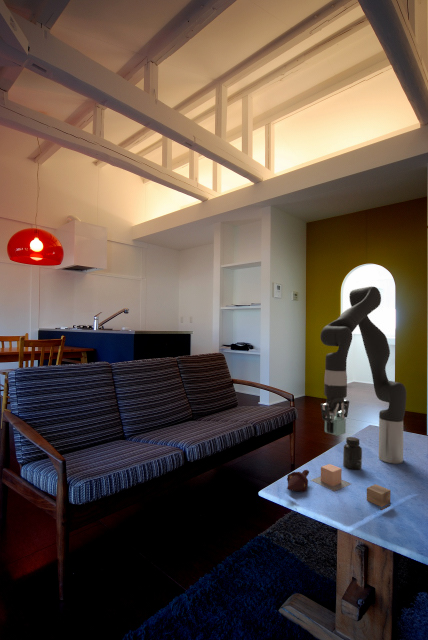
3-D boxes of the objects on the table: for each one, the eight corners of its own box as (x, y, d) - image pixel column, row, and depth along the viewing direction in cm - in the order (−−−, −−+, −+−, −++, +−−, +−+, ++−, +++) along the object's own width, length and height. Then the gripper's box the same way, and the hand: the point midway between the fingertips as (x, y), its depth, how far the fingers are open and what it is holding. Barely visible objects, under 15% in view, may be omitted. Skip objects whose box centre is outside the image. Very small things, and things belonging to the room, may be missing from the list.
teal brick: (333, 429, 128) (333, 415, 128) (345, 433, 124) (345, 418, 124) (324, 431, 125) (324, 417, 125) (336, 435, 121) (337, 421, 121)
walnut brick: (375, 499, 115) (375, 484, 115) (390, 506, 111) (390, 490, 111) (366, 503, 112) (366, 487, 112) (381, 510, 108) (381, 494, 108)
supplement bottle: (363, 473, 135) (363, 442, 135) (344, 471, 137) (345, 440, 137) (359, 466, 142) (360, 436, 142) (341, 465, 143) (342, 435, 144)
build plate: (327, 476, 132) (327, 473, 132) (351, 486, 124) (351, 483, 124) (310, 482, 126) (310, 480, 126) (334, 494, 118) (334, 491, 118)
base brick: (329, 477, 129) (329, 463, 129) (341, 482, 125) (341, 468, 125) (320, 481, 126) (320, 466, 126) (332, 486, 122) (332, 471, 122)
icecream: (301, 484, 111) (318, 473, 123) (280, 472, 115) (299, 462, 127) (295, 505, 111) (313, 492, 123) (274, 492, 116) (294, 480, 127)
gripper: (338, 379, 132) (337, 425, 132) (313, 383, 123) (313, 432, 123) (356, 382, 126) (356, 430, 126) (332, 386, 117) (331, 437, 117)
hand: (334, 431), depth 124 cm, fingers closed on teal brick, 5 cm apart
